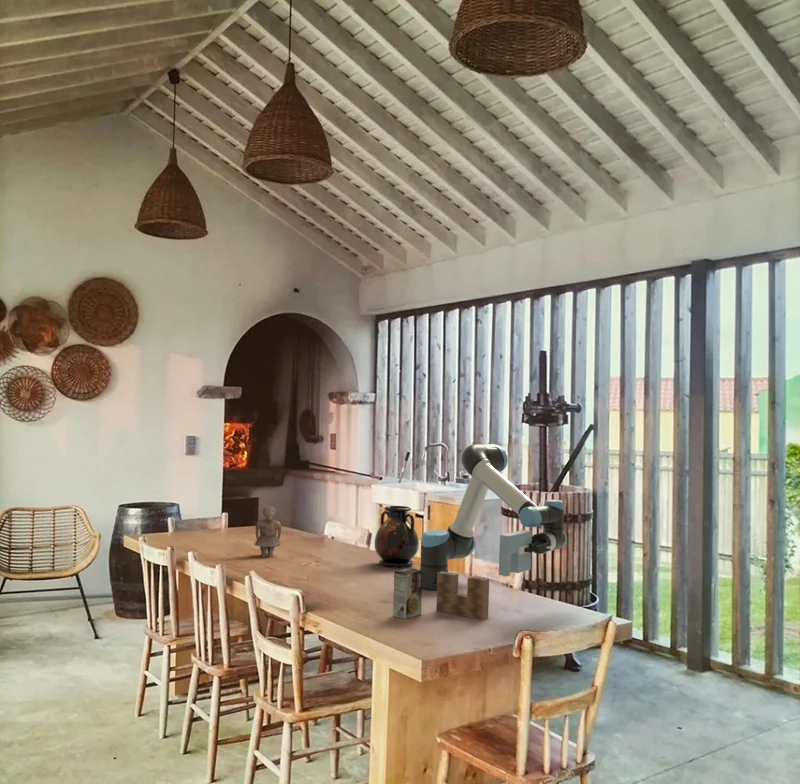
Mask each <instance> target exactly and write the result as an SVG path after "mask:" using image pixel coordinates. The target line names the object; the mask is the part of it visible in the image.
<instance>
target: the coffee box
mask: <svg viewBox="0 0 800 784" xmlns="http://www.w3.org/2000/svg"><path fill="white" fill-rule="evenodd" d="M393 573H394V574H393V577H394V578H393V602H392V603H393V605H392V606H393V607H392V608H393V609H392V616H393V617H397V618H401V619H403V620H405V619H406V620H407V619H410V618H413V617H417V616H420V615H422V598H423V597H422V595H423V594H422V592H423V589H422V570H420V569H417V568H413V567H406V568H401V569H399V570H394V571H393Z"/></svg>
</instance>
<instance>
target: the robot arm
mask: <svg viewBox="0 0 800 784" xmlns="http://www.w3.org/2000/svg"><path fill="white" fill-rule="evenodd" d="M508 460H509V459H508V455H507V452H506V450H505V448H504V447H502V446H501V445H499V444H493V443H489V444H488V443H485V444H483V443H482V444H481V443H480V444H479V443H478V444H477V443H475V444H470V445H468V446H467V447H466V448H465V449H464V450H463V452H462V454H461V464H462V467H463V469H464V470H465V471H466V473H467V474H468V475H469V476H471V477H470V479H469V482H468V483H467V484H468V485H467V487H466V490H465V493H464V495H463V498H462V501H461V502H460V503H461V504H460V506H459V509H458V510H457V514H456V516H455V519H454V521H453V522H451V523H449V525H448V526H447V529H446V530H445V529H429V530H426V531H424V532H423V533H422V535H421V541H420V567H419V570H422V590H429V591H437V573H438V572H442V571H443V572H449V560H455V559H464V558H466V557H468V556H471V554H472V553H473V552H474V550H475V548H476V541H475V540H476V538H475V532H474V527H475V524H476V522H477V518H478V516H479V513H480V511H481V509H482V505H483V503H484V501H485V498H486V496H487V494H488V490H490V491H491V492H492V493H493V494H494V495H495V496H496V497H498V498H499V500H502V502H503V503H504V504H506V505H507V506H508V507H509V508H510V509H511V510H512V511H513V512H515V513H516V514H517V515H518V520H519V522H520V525H522V526H523V527H526V528H537V527H543V532H538V533H535V534H532V543H530V544H529V547H528V545H524V546H520V547H518V555H521V554H525V553H528V552H530V553H531V554H532V553H534V554H538V555H541V554H547V553H548V552H551V551H552V552H553V551H558V550H560V549H562V548H563V547H565V545H567V541H568V536H567V534H566V532H564V521H565V520H564V518H565V507H564V505H565V504H564V502H563V500H559V499H546V500H545V501H544V504H543V505H541V506H538V505H537V504H536V503H534V502H533V501H532V500H531V498H529V497H528V496H526V495H525V494H524V493H523V492H522V491H521V490H519V488H517V486H515V485H514V484H513V483H512V482H511V481H510V480H508V478H506V477H505V475H503V474H502V473H500V472H503V471H504V470H505V469H506V468H507V466H508Z"/></svg>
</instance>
